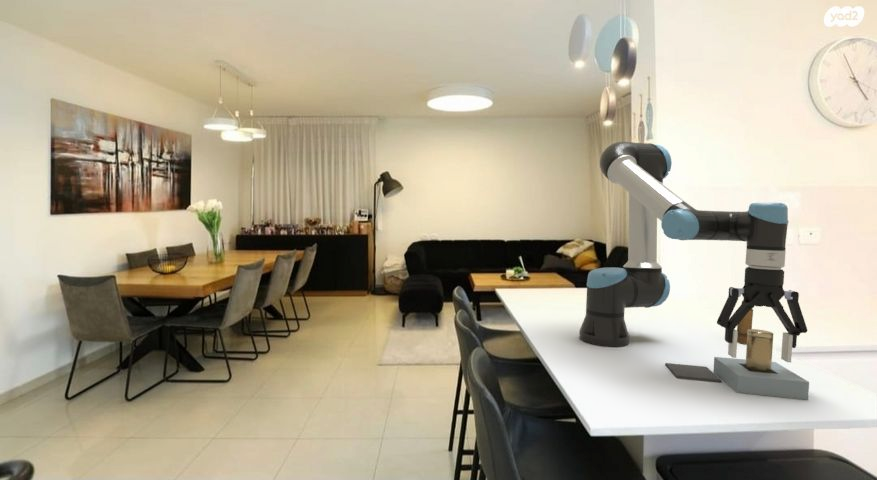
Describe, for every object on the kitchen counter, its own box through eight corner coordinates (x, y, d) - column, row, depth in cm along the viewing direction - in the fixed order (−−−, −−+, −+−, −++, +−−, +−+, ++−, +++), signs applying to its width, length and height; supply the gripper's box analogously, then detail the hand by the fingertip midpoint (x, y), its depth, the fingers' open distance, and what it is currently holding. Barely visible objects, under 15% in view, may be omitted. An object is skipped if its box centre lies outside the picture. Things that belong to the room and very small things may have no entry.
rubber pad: (676, 378, 108) (676, 375, 108) (665, 365, 118) (665, 362, 118) (721, 382, 106) (721, 380, 106) (706, 368, 116) (706, 366, 116)
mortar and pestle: (759, 345, 140) (763, 290, 139) (737, 343, 141) (740, 288, 140) (749, 339, 147) (752, 286, 146) (728, 338, 148) (731, 285, 147)
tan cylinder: (750, 387, 103) (753, 333, 103) (740, 379, 108) (743, 328, 108) (774, 389, 102) (777, 335, 102) (763, 382, 107) (766, 330, 106)
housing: (737, 392, 100) (738, 375, 100) (713, 371, 114) (714, 356, 113) (808, 399, 97) (809, 382, 97) (774, 377, 110) (775, 362, 110)
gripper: (716, 266, 103) (711, 358, 104) (831, 271, 97) (825, 368, 99) (704, 263, 110) (699, 349, 111) (811, 268, 105) (805, 358, 106)
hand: (758, 358), depth 105 cm, fingers open, 11 cm apart
